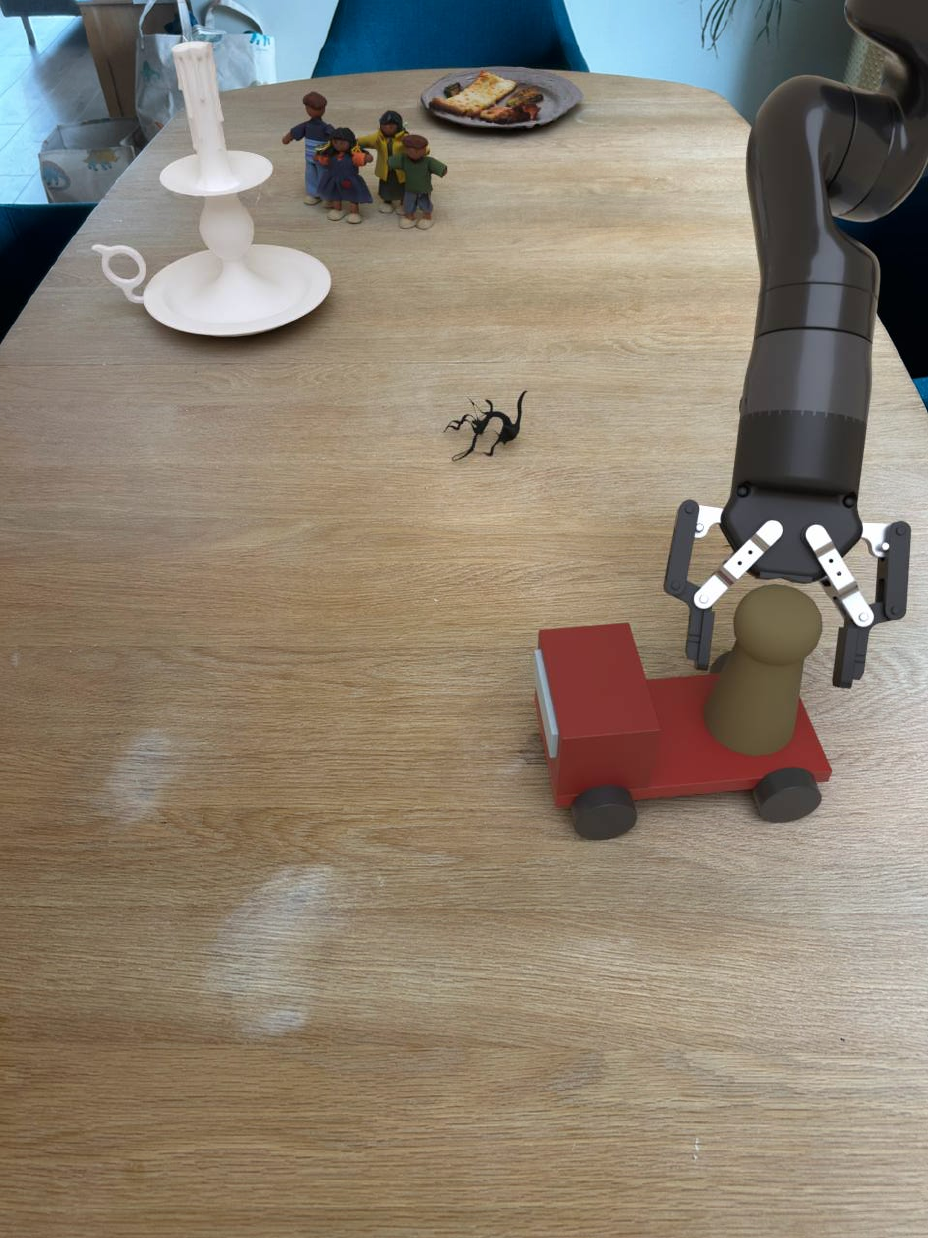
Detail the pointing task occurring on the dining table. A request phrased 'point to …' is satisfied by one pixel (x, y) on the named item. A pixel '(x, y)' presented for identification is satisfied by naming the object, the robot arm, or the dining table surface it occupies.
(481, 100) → the food plate
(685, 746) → the toy truck
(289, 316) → the candlestick
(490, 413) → the creature
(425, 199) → the doll family
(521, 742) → the dining table surface
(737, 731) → the brown peg doll
